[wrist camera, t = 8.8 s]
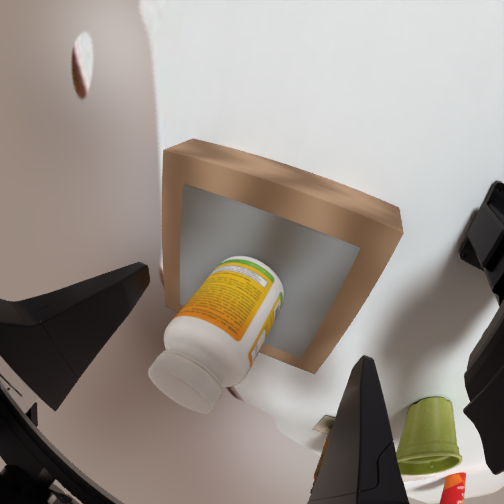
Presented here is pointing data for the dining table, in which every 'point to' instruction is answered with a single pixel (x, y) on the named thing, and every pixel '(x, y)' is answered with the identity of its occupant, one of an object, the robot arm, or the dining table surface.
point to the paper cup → (454, 489)
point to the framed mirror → (275, 240)
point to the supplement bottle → (218, 333)
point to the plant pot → (428, 438)
